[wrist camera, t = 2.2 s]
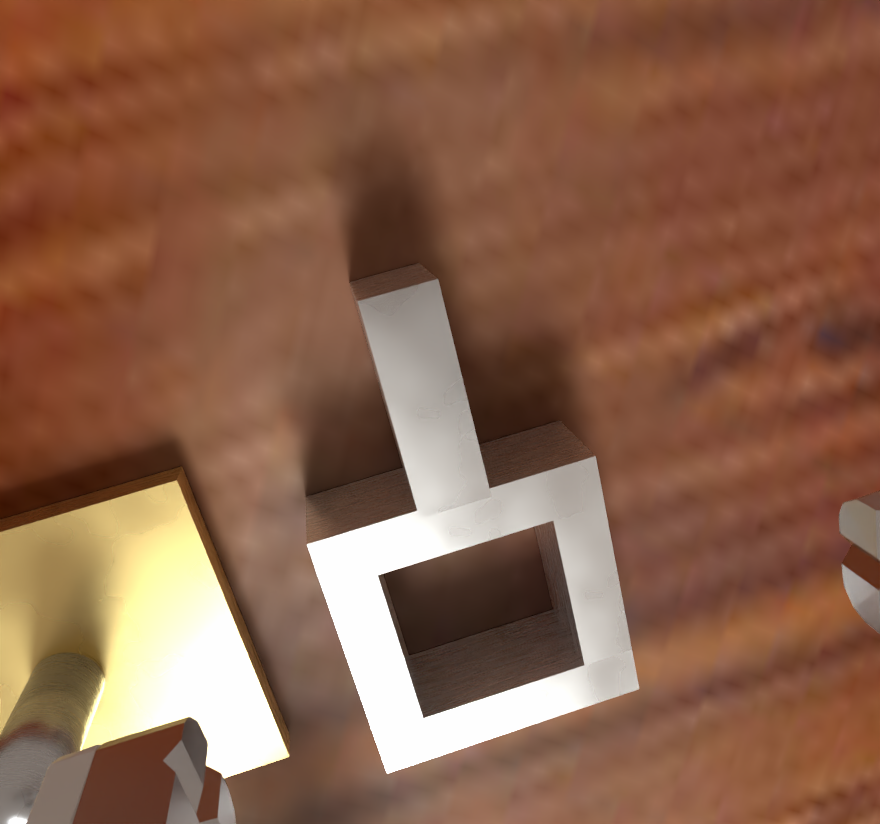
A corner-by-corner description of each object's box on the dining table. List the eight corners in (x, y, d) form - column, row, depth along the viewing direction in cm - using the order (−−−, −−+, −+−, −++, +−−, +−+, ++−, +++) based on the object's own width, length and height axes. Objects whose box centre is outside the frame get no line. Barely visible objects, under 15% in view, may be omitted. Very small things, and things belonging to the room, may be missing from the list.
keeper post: (181, 466, 22) (141, 573, 16) (289, 734, 25) (287, 899, 20) (-179, 572, 21) (-354, 724, 15) (-17, 834, 24) (-110, 1037, 19)
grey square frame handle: (242, 312, 21) (233, 336, 18) (521, 234, 21) (556, 246, 19) (377, 705, 25) (386, 773, 23) (602, 632, 26) (639, 689, 23)
